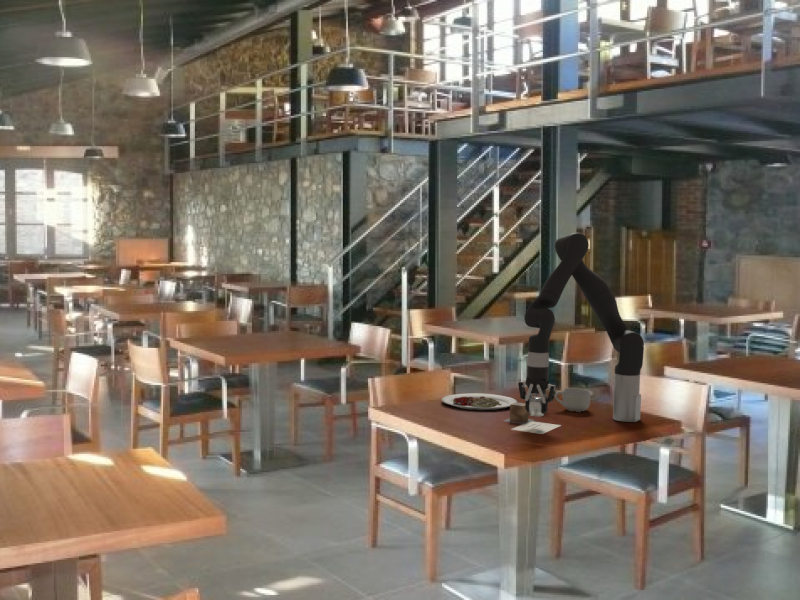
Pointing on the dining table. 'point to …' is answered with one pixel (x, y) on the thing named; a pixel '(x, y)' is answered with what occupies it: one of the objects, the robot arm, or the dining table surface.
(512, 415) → the walnut block
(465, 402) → the plated food
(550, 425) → the envelope
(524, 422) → the coaster
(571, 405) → the teacup
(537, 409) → the tin
